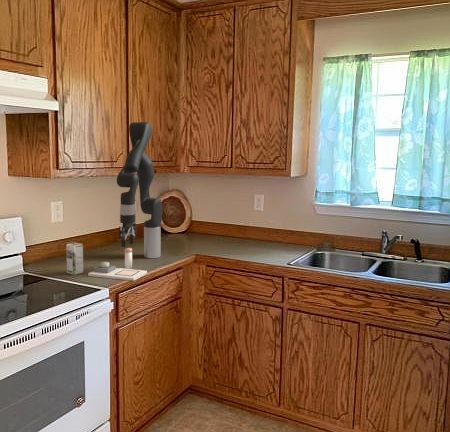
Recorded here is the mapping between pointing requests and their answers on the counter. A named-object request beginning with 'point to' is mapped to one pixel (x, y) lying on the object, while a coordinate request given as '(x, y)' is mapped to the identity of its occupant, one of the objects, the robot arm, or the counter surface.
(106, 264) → the button
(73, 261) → the syrup box
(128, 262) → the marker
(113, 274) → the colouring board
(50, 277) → the counter surface
